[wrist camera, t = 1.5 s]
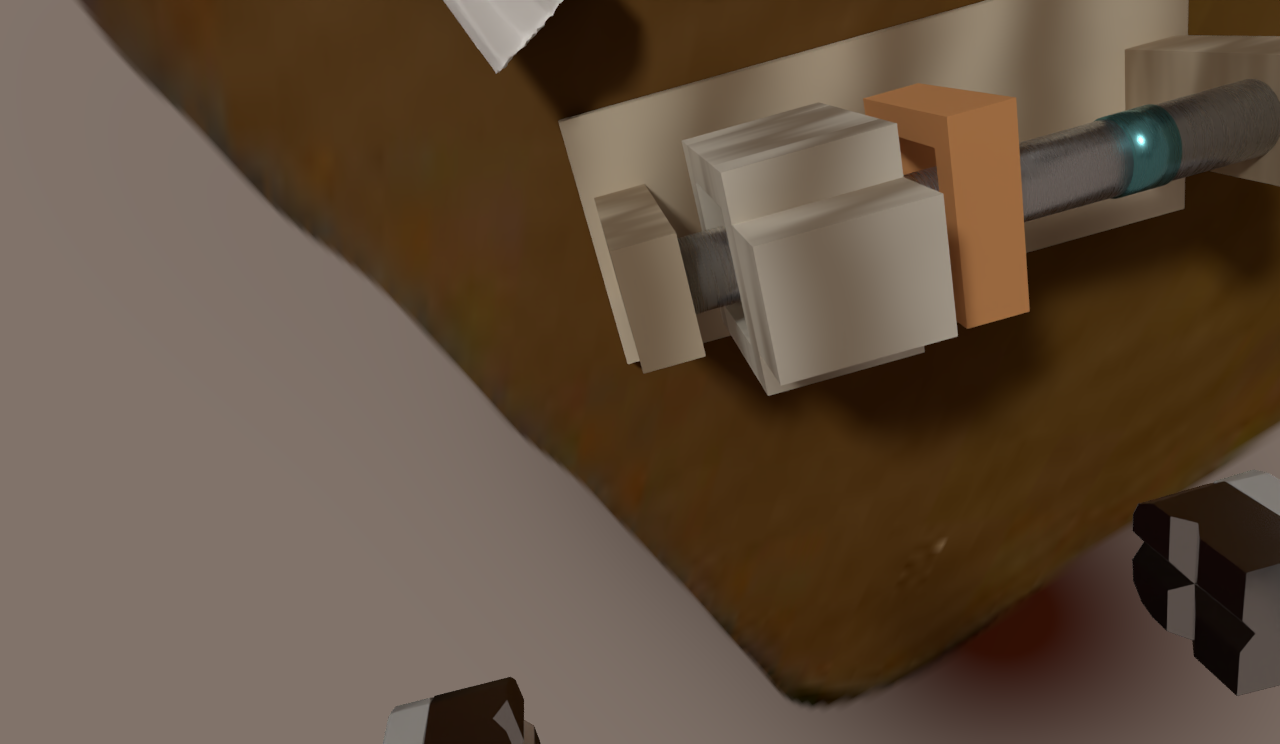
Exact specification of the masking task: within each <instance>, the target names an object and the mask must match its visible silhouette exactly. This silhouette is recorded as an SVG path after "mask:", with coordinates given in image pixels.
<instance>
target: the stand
mask: <svg viewBox="0 0 1280 744" xmlns="http://www.w3.org/2000/svg"><path fill="white" fill-rule="evenodd" d="M1245 79H1257V80H1260V81H1262V82H1264V83H1266V84H1267V85H1268V86H1269V87H1270V88H1271V89H1272V90H1273V91H1274V92H1275V94H1276V95H1277V97H1278V99H1279V102H1280V36H1197V35H1188V0H986V1H982V2H979V3H975V4H972V5H968V6H965V7H961V8H957V9H954V10H950V11H947V12H943V13H940V14H936V15H932V16H929V17H925V18H922V19H918V20H915V21H911V22H907V23H904V24H900V25H897V26H893V27H890V28H886V29H882V30H879V31H875V32H872V33H868V34H865V35H861V36H857V37H854V38H850V39H847V40H843V41H840V42H836V43H832V44H829V45H825V46H822V47H818V48H815V49H811V50H807V51H804V52H800V53H797V54H793V55H790V56H786V57H782V58H779V59H775V60H772V61H768V62H765V63H761V64H757V65H754V66H750V67H747V68H743V69H740V70H736V71H732V72H729V73H725V74H722V75H718V76H715V77H711V78H707V79H704V80H700V81H697V82H693V83H690V84H686V85H683V86H679V87H675V88H672V89H668V90H665V91H661V92H658V93H654V94H650V95H647V96H643V97H640V98H636V99H633V100H629V101H625V102H622V103H618V104H615V105H611V106H608V107H604V108H600V109H597V110H593V111H590V112H586V113H583V114H579V115H575V116H572V117H568V118H565V119H561V120H558V121H559V125H560V129H561V132H562V136H563V139H564V143H565V146H566V150H567V153H568V157H569V160H570V164H571V167H572V171H573V174H574V178H575V181H576V185H577V188H578V192H579V195H580V199H581V202H582V206H583V209H584V213H585V216H586V220H587V223H588V227H589V230H590V234H591V237H592V241H593V244H594V248H595V251H596V255H597V258H598V262H599V265H600V269H601V272H602V276H603V279H604V283H605V286H606V290H607V293H608V297H609V300H610V304H611V307H612V311H613V314H614V318H615V321H616V325H617V328H618V332H619V335H620V339H621V342H622V346H623V349H624V353H625V356H626V360H627V363H628V364H631V363H634V362H638V361H640V363H641V367H642V370H643V374H644V373H647V372H651V371H655V370H658V369H662V368H665V367H669V366H672V365H676V364H680V363H683V362H687V361H690V360H694V359H697V358H701V357H705V356H706V355H705V351H704V346H703V343H706V342H709V341H713V340H717V339H720V338H724V337H727V336H731V334H730V333H729V331H728V329H727V328H726V326H725V324H724V323H723V321H722V316H721V312H720V308H716V309H713V310H709V311H706V312H702V313H699V314H696V313H695V309H694V305H693V301H692V297H691V293H690V288H689V284H688V280H687V276H686V272H685V268H684V264H683V260H682V255H681V251H680V247H679V243H678V239H677V238H680V237H684V236H687V235H691V234H694V233H698V232H702V229H701V224H700V220H699V215H698V211H697V207H696V202H695V198H694V194H693V189H692V185H691V180H690V176H689V172H688V167H687V163H686V158H685V154H684V150H683V145H682V140H686V139H689V138H693V137H696V136H700V135H703V134H707V133H711V132H714V131H718V130H721V129H725V128H728V127H732V126H736V125H739V124H743V123H746V122H750V121H753V120H757V119H761V118H764V117H768V116H771V115H775V114H778V113H782V112H786V111H789V110H793V109H796V108H800V107H803V106H807V105H811V104H814V103H818V102H819V103H823V104H827V105H830V106H834V107H838V108H842V109H845V110H849V111H853V112H856V113H860V114H864V115H865V109H864V102H863V98H867V97H870V96H874V95H878V94H881V93H885V92H888V91H892V90H895V89H899V88H903V87H906V86H910V85H913V84H917V83H921V84H927V85H934V86H941V87H948V88H955V89H962V90H969V91H975V92H982V93H989V94H996V95H1003V96H1010V97H1016V102H1017V118H1018V134H1019V142H1023V141H1027V140H1030V139H1034V138H1037V137H1041V136H1044V135H1048V134H1052V133H1055V132H1059V131H1062V130H1066V129H1069V128H1073V127H1077V126H1080V125H1084V124H1087V123H1091V122H1094V121H1095V120H1096V119H1098V118H1101V117H1104V116H1108V115H1111V114H1115V113H1118V112H1122V111H1126V110H1129V109H1133V108H1136V107H1140V106H1143V105H1148V104H1154V105H1155V104H1159V103H1162V102H1166V101H1170V100H1173V99H1177V98H1180V97H1184V96H1187V95H1191V94H1195V93H1198V92H1202V91H1205V90H1209V89H1212V88H1216V87H1220V86H1223V85H1227V84H1230V83H1234V82H1237V81H1241V80H1245ZM1210 171H1211V172H1215V173H1220V174H1225V175H1229V176H1234V177H1239V178H1243V179H1248V180H1253V181H1257V182H1262V183H1267V184H1271V185H1276V186H1280V137H1279V139H1278V141H1277V143H1276V144H1275V146H1274V147H1273V148H1272V149H1271V150H1270V151H1269V152H1268V153H1266V154H1265V155H1262V156H1260V157H1256V158H1252V159H1249V160H1245V161H1242V162H1238V163H1235V164H1231V165H1227V166H1224V167H1220V168H1217V169H1213V170H1210ZM1181 209H1185V178H1181V179H1177V180H1174V181H1171V182H1169V183H1168V184H1166V185H1164V186H1161V187H1157V188H1153V189H1150V190H1146V191H1143V192H1139V193H1135V194H1132V195H1128V196H1125V197H1121V198H1117V199H1106V200H1102V201H1099V202H1095V203H1092V204H1088V205H1085V206H1081V207H1077V208H1074V209H1070V210H1067V211H1063V212H1060V213H1056V214H1052V215H1049V216H1045V217H1042V218H1038V219H1034V220H1031V221H1027V222H1024V229H1025V245H1026V253H1027V252H1031V251H1035V250H1038V249H1042V248H1045V247H1049V246H1052V245H1056V244H1060V243H1063V242H1067V241H1070V240H1074V239H1078V238H1081V237H1085V236H1088V235H1092V234H1095V233H1099V232H1103V231H1106V230H1110V229H1113V228H1117V227H1120V226H1124V225H1128V224H1131V223H1135V222H1138V221H1142V220H1145V219H1149V218H1153V217H1156V216H1160V215H1163V214H1167V213H1170V212H1174V211H1178V210H1181Z"/></svg>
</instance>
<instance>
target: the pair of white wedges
mask: <svg viewBox="0 0 1280 744" xmlns="http://www.w3.org/2000/svg"><path fill="white" fill-rule="evenodd" d="M443 1H444V2H445V4H446V5H447V6H448V8H449V9H450V10H451V12H452V13H453V14H454V16H455V17H456V19H457V20H458V21H459V23H460V24H461V26H462V27H463V28H464V30H465V31H466V33H467V34H468V35H469V37H470V38H471V39H472V41H473V42H474V44H475V45H476V47H477V48H478V49H479V50H480V52H481V53H482V54H483V56H484V57H485V58H486V60H487V61H488V62H489V64H490V65H491V67H492V68H493V70H494V71H495V72H496V73H497V72H499V71H501V70H502V68H505V67H506V66H507V63H508V62H509V61H510V60H511V59H512V57H513V56H514V55H517V52H518V51H519V50H520V49H522V48H523V47H525V46H527V45H526V42H527V44H528V42H529V41H530V39H532V38H533V37H534V36H535V35H536V34H537V32H538V31H539V30H540V29H541V28H542V27H544V26H545V21H546V20H547V19H548V18H549V17H550V16H553V14H554V12H555V10H556V8H557V6H559V3H562V2H563V1H564V0H443ZM499 73H500V72H499Z"/></svg>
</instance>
